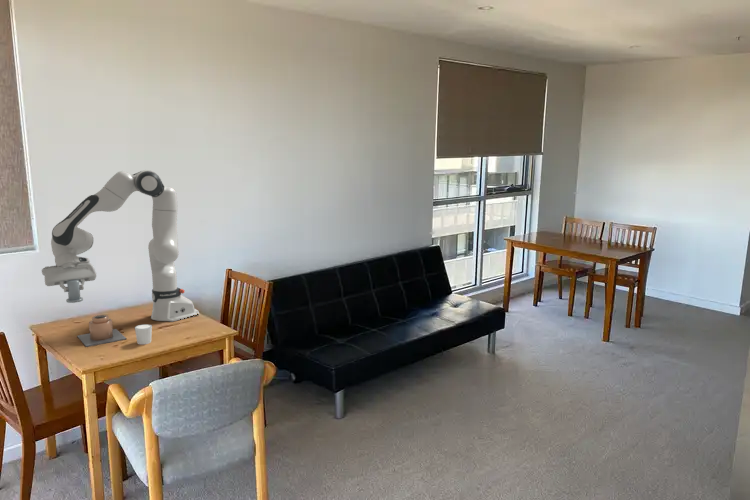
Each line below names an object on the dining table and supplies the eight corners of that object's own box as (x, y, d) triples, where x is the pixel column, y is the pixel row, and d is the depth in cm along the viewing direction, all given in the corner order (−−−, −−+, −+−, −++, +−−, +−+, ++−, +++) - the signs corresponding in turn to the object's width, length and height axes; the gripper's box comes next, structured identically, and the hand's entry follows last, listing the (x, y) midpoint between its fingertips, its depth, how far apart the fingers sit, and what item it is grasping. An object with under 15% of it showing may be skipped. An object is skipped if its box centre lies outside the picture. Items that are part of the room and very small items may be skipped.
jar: (116, 329, 259) (114, 309, 257) (126, 339, 247) (125, 318, 245) (77, 336, 249) (75, 315, 247) (86, 347, 237) (84, 324, 235)
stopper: (81, 298, 254) (79, 278, 252) (84, 301, 249) (82, 281, 248) (65, 300, 250) (63, 280, 249) (68, 303, 245) (66, 283, 244)
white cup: (146, 345, 240) (145, 329, 239) (132, 344, 241) (131, 328, 240) (156, 340, 246) (155, 324, 245) (141, 338, 248) (140, 323, 247)
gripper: (41, 263, 245) (47, 289, 240) (92, 257, 258) (99, 283, 252) (40, 271, 250) (46, 297, 244) (91, 265, 262) (98, 290, 257)
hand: (74, 290), depth 248 cm, fingers closed on stopper, 5 cm apart
